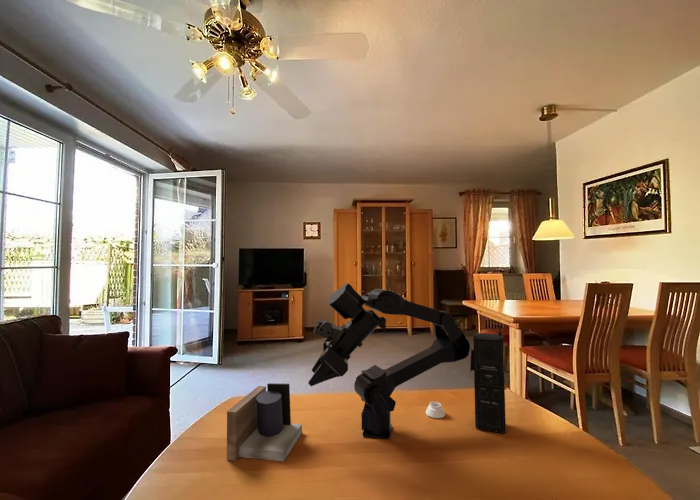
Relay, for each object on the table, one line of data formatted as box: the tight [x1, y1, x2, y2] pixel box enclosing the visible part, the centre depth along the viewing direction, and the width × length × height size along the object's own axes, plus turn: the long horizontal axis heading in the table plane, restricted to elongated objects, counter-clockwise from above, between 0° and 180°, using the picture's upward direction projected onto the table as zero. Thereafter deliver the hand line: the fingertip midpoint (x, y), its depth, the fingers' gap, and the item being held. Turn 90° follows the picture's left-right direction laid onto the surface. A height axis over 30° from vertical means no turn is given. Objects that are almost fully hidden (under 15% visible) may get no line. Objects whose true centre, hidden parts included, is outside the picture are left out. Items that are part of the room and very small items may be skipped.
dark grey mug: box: [256, 383, 292, 437], centre depth 79 cm, size 8×6×10 cm
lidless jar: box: [425, 401, 446, 419], centre depth 91 cm, size 5×3×5 cm
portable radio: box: [469, 325, 507, 434], centre depth 85 cm, size 8×6×25 cm
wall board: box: [226, 385, 303, 462], centre depth 77 cm, size 12×15×10 cm
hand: (311, 377), depth 81 cm, fingers open, 9 cm apart
